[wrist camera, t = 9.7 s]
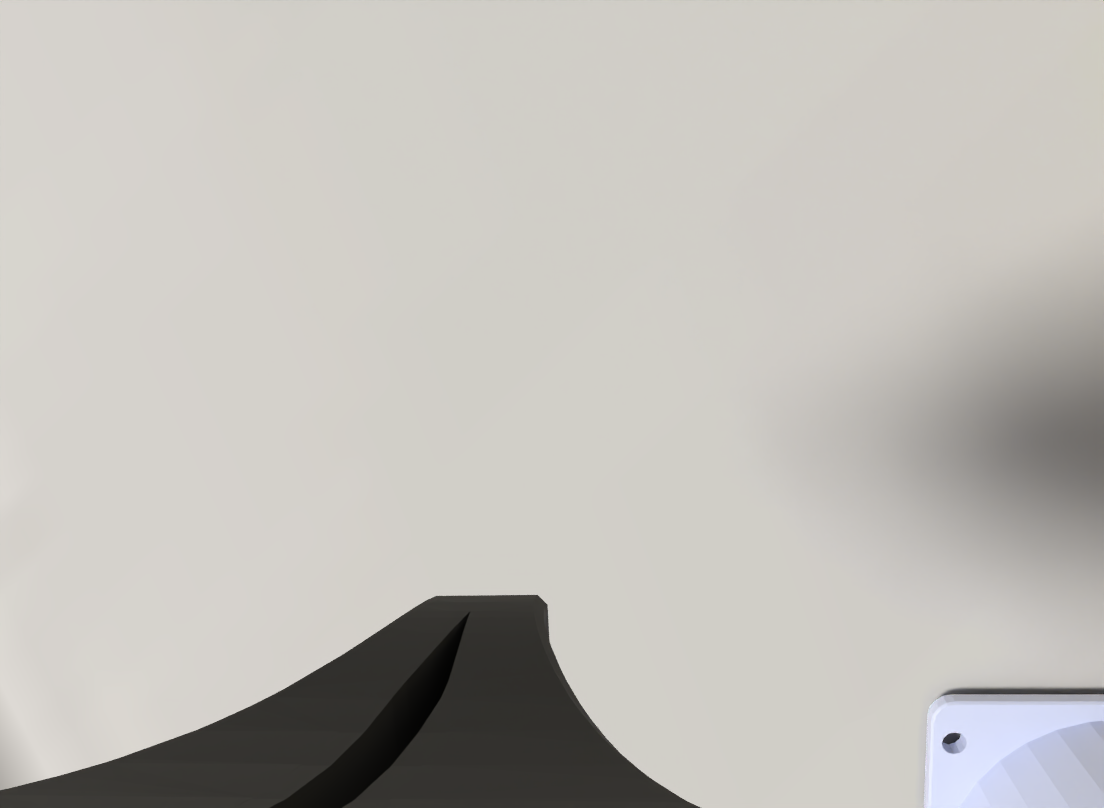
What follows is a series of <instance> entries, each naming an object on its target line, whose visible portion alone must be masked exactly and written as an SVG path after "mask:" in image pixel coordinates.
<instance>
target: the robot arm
mask: <svg viewBox="0 0 1104 808" xmlns="http://www.w3.org/2000/svg"><path fill="white" fill-rule="evenodd" d="M954 732H955V733H960V734H961V735H960V738H959V739H958V740H957V741H956V742H955V743H951V744H946V743H942V741H943V738H944V737H945V736H946V735H948V734H950V733H954ZM0 808H700V807H698V806H696V805H694V804H691V803H689V802H687V801H686V800H684V799H682V798H680V797H679V796H677V795H676V794H674V793H672V792H671V791H669V790H668V789H666V788H665V787H663V786H661V785H660V784H658V783H657V782H655V781H654V780H652V779H651V778H649V777H648V776H647V775H645V774H644V773H643V772H641V771H640V770H639V769H638V768H637V767H635V766H634V765H633V764H632V763H631V762H630V761H628V760H627V759H626V758H625V757H624V756H623V755H621V754H620V753H619V751H618V750H617V749H616V748H615V747H614V746H613V745H612V744H611V743H610V742H609V741H608V740H607V739H606V738H605V736H604V735H603V734H602V733H601V731H600V730H599V729H598V728H597V726H596V725H595V724H594V723H593V721H592V720H591V719H590V717H589V716H588V715H587V713H586V712H585V710H584V709H583V707H582V706H581V704H580V703H579V701H578V700H577V698H576V696H575V695H574V693H573V691H572V689H571V688H570V686H569V684H568V683H567V681H566V679H565V677H564V675H563V673H562V671H561V669H560V667H559V664H558V662H557V660H556V657H555V655H554V652H553V650H552V648H551V645H550V642H549V627H548V608H547V604H546V603H545V602H544V601H543V600H542V599H541V598H540V597H539V596H538V595H495V596H435V597H433V598H431V599H429V600H427V601H425V602H423V603H421V604H420V605H418V606H416V607H415V608H413V609H412V610H410V611H409V612H407V613H406V614H404V615H402V616H401V617H399V618H398V619H396V620H395V621H393V622H392V623H390V624H389V625H387V626H386V627H384V628H383V629H381V630H380V631H378V632H377V633H375V634H374V635H372V636H371V637H369V638H368V639H366V640H365V641H363V642H362V643H360V644H359V645H357V646H356V647H354V648H353V649H351V650H349V651H348V652H346V653H345V654H343V655H342V656H340V657H338V658H336V659H335V660H333V661H331V662H330V663H328V664H326V665H325V666H323V667H321V668H319V669H318V670H316V671H314V672H313V673H311V674H309V675H307V676H306V677H304V678H302V679H301V680H299V681H297V682H296V683H294V684H292V685H290V686H289V687H287V688H285V689H283V690H282V691H280V692H278V693H276V694H274V695H272V696H270V697H268V698H266V699H264V700H262V701H260V702H258V703H256V704H254V705H252V706H250V707H248V708H246V709H244V710H241V711H239V712H237V713H235V714H232V715H230V716H228V717H226V718H224V719H221V720H219V721H217V722H215V723H213V724H210V725H208V726H205V727H203V728H201V729H198V730H196V731H193V732H190V733H188V734H185V735H182V736H179V737H177V738H174V739H171V740H168V741H166V742H163V743H160V744H157V745H154V746H152V747H149V748H146V749H143V750H141V751H138V752H135V753H132V754H129V755H127V756H124V757H121V758H118V759H115V760H112V761H109V762H106V763H102V764H99V765H95V766H92V767H89V768H85V769H82V770H78V771H75V772H71V773H68V774H64V775H61V776H57V777H53V778H49V779H45V780H41V781H37V782H33V783H29V784H25V785H21V786H17V787H13V788H9V789H5V790H0ZM924 808H1104V694H951V695H945V696H941V697H940V698H938V699H936V700H935V701H934V702H933V703H932V704H931V706H930V707H929V711H928V714H927V739H926V764H925V790H924Z"/></svg>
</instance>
